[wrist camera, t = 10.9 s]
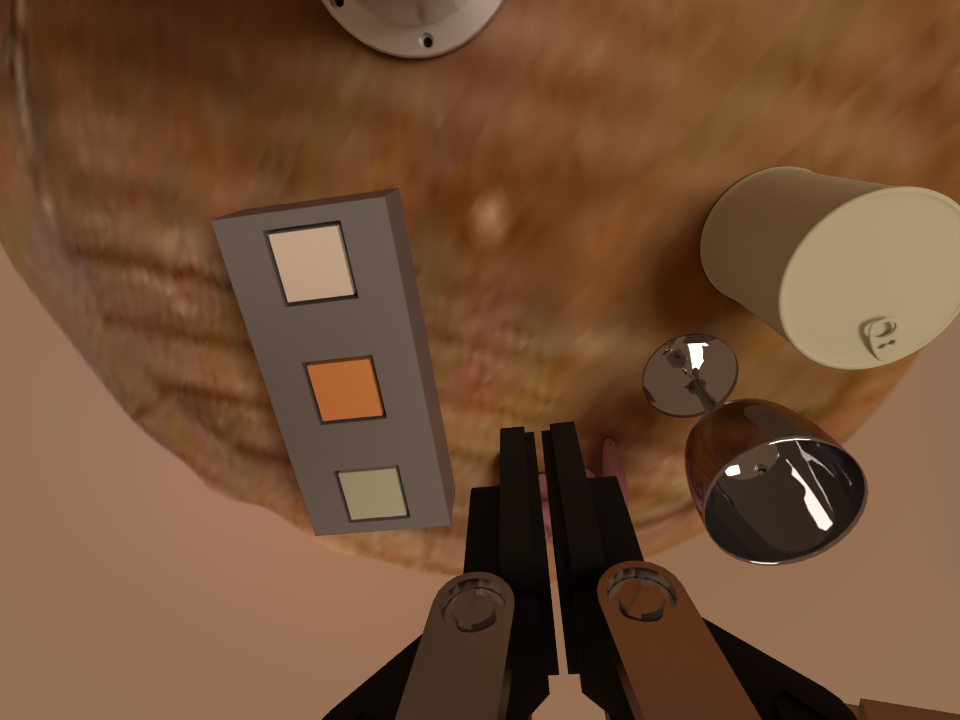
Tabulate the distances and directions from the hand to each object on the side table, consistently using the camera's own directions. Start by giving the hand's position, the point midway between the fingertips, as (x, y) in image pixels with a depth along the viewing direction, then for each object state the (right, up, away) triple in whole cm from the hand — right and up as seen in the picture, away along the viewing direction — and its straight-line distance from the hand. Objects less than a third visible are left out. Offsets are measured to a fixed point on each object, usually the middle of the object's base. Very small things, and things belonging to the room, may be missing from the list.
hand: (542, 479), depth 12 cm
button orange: (-11, +2, +28) cm, 30 cm away
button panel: (-11, +2, +29) cm, 31 cm away
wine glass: (+15, +2, +29) cm, 32 cm away
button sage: (-10, -6, +31) cm, 33 cm away
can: (+18, +11, +24) cm, 32 cm away
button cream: (-12, +10, +24) cm, 29 cm away
